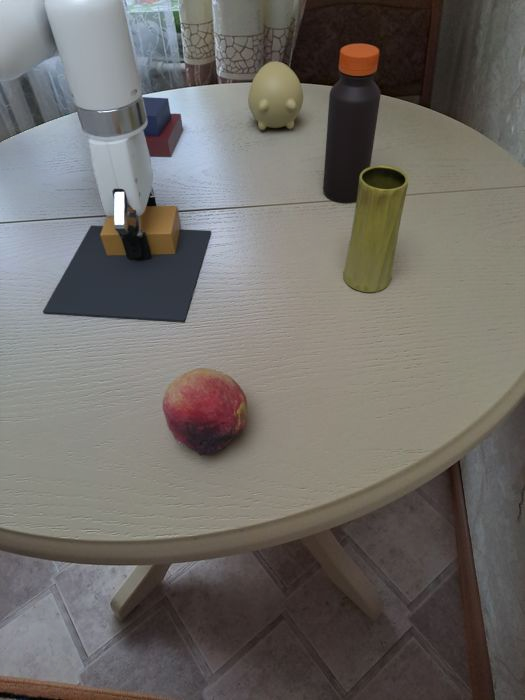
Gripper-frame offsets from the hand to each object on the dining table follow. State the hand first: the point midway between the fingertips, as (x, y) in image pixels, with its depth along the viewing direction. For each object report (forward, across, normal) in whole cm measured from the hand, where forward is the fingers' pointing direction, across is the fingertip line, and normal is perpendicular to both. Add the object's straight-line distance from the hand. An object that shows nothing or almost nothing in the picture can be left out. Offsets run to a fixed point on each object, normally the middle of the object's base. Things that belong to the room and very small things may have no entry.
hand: (144, 238), depth 71 cm
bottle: (+1, -12, +29) cm, 32 cm away
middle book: (-2, -30, -6) cm, 30 cm away
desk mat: (+1, +6, -1) cm, 6 cm away
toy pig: (+1, -35, +19) cm, 40 cm away
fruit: (+1, +31, +12) cm, 34 cm away
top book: (0, 0, 0) cm, 0 cm away
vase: (+1, +8, +30) cm, 31 cm away
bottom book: (+1, -30, -6) cm, 30 cm away
